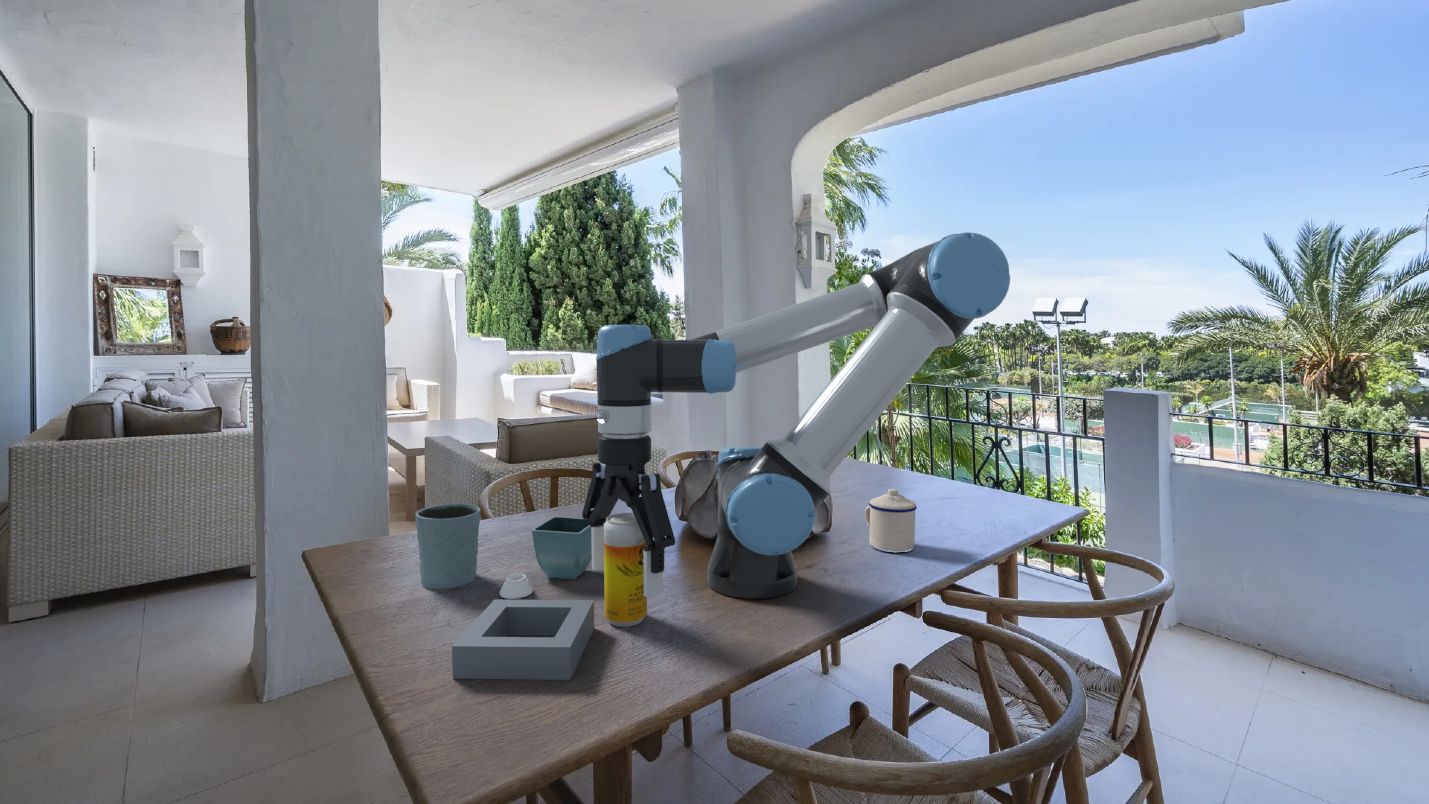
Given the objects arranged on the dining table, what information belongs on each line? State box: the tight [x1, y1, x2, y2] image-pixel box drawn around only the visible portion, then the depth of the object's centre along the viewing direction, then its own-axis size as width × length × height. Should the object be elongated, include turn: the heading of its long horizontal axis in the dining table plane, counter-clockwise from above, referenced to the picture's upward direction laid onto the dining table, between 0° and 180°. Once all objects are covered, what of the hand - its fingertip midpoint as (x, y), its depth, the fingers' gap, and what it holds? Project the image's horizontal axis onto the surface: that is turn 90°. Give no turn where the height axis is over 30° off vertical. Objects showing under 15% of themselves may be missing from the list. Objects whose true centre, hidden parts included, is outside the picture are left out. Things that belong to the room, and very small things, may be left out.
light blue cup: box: [414, 503, 482, 590], centre depth 106 cm, size 10×10×12 cm
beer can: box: [603, 512, 648, 628], centre depth 91 cm, size 6×6×15 cm
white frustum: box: [499, 573, 534, 600], centre depth 101 cm, size 5×3×5 cm
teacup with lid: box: [864, 488, 918, 551], centre depth 127 cm, size 12×9×12 cm
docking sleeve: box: [451, 598, 595, 681], centre depth 82 cm, size 14×14×4 cm
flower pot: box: [531, 516, 592, 580], centre depth 109 cm, size 9×9×9 cm
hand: (625, 580), depth 91 cm, fingers open, 13 cm apart
